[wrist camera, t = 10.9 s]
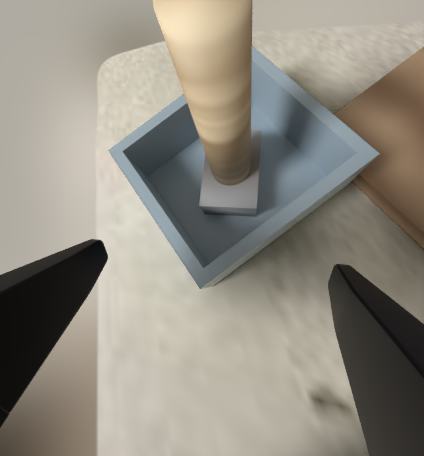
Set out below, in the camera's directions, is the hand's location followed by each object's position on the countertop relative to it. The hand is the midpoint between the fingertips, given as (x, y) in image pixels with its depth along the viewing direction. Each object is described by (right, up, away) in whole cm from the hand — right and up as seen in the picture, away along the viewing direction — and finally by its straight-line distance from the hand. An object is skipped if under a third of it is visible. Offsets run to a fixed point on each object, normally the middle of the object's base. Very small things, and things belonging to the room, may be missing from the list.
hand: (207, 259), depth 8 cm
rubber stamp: (+2, +5, +9) cm, 11 cm away
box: (+2, +5, +10) cm, 11 cm away
